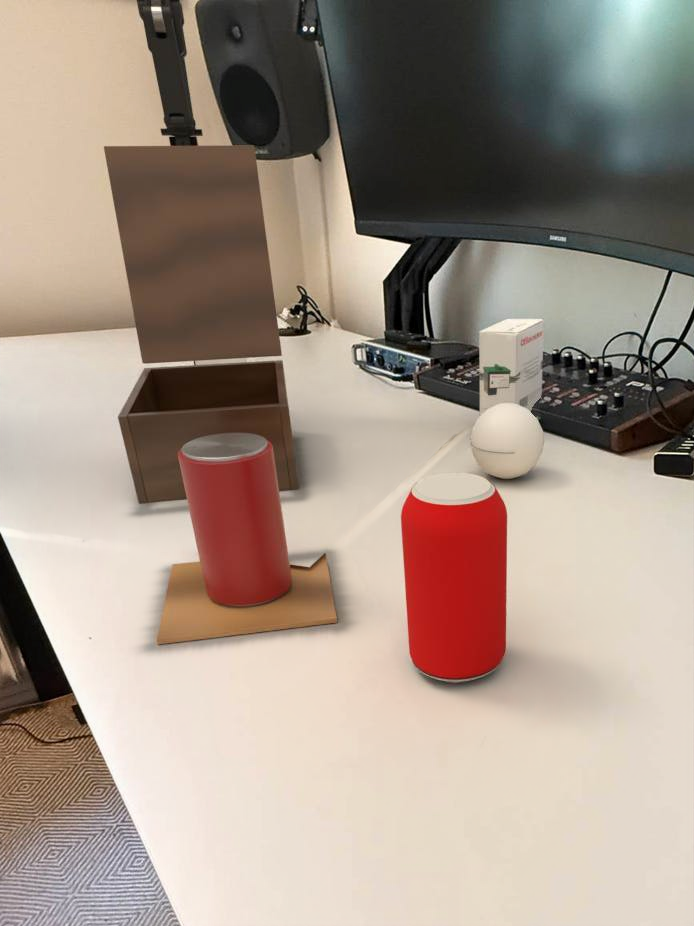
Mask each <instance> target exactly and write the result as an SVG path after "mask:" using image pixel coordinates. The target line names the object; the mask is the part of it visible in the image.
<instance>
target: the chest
mask: <svg viewBox="0 0 694 926" xmlns="http://www.w3.org/2000/svg"><path fill="white" fill-rule="evenodd" d="M284 369H285V368H284V362H283V360H282V359H279V360H278V359H277V360H261V361H246V362H241V363H223V364H206V365H194V364H192V365H189V364H188V365H172V366H156V367H144V368H143V370H142V371H141V373H140V374H139V377H138V379H137V380H136V382H135V384H134V386H133V388H132V390H131V392H130V393H129V395H128V397H127V399H126V401H125V403H124V405H123V407H122V408H121V410H120V412H119V414H118V416H117V420H118V423H119V429H120V432H121V436H122V440H123V445H124V447H125V448H124V449H125V452H126V456H127V461H128V464H129V465H128V466H129V470H130V474H131V477H132V481H133V487H134V489H135V494H136V498H137V502H138V504H139V505H142V504H152V503H163V502H175V501H187V497H186V492H185V487H184V482H183V477H182V473H181V468H180V463H179V458H178V452H179V451H180V449H182V447H183V446H184V445H185V444H186V443H188V442H190V441H192V440H194V439H197V438H200V437H204V436H209V435H214V434H222V433H249V434H255V435H259V436H262V437H264V438H265V439H266V440H268V441H269V442H271V444H272V446H273V453H274V460H275V466H276V473H277V480H278V487H279V492H287V491H298V490H300V485H299V476H298V468H297V460H296V453H295V446H294V437H293V431H292V430H293V429H292V421H291V416H290V415H291V413H290V407H289V400H288V392H287V384H286V378H285V370H284Z"/></svg>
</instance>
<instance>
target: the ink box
mask: <svg viewBox="0 0 694 926" xmlns="http://www.w3.org/2000/svg"><path fill="white" fill-rule="evenodd" d="M544 332H545V320H544V319H542V318H506V319H504V320H502V321H500V322H497V323H494V324H492V325H490V326H488V327H486V328H484V329H482V330H481V329H480V330H479V331H478V337H479V338H478V339H479V341H478V345H479V348H478V349H479V351H478V352H479V361H478V362H479V372H478V373H479V417H480V416H481V415H482V414H483V413H484V412H485V411H486V410H487V409H489V408H491V407H493V406H495V405H498V404H501V403H514V404H518V405H520V406H522V407H524V408H526V409H528V410H529V411H530V412H531V410H532V407H533V406H534V404H535V403H536V402H537V401H538V400H539V399H540V398H541V399H542V397H541V396H543V395H542V393H543V392H542V391H543V361H544V337H545V335H544V334H545V333H544ZM536 418H537V419H538V421H539V420H541V418H542V416H541V417H538V416H537V417H536Z"/></svg>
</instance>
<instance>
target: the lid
mask: <svg viewBox="0 0 694 926" xmlns="http://www.w3.org/2000/svg"><path fill="white" fill-rule="evenodd" d="M103 151H104V157H105V162H106V167H107V173H108V179H109V185H110V189H111V196H112V202H113V206H114V213H115V218H116V223H117V229H118V234H119V241H120V246H121V250H122V256H123V262H124V268H125V273H126V279H127V284H128V291H129V296H130V302H131V306H132V307H131V308H132V313H133V319H134V324H135V329H136V330H135V331H136V335H137V340H138V347H139V352H140V357H141V363H142V364H144V365H147V364H148V365H149V364H164V363H183V362H194V361H202V360H219V359H237V358H246V359H249V358H250V359H251V358H252V359H253V358H271V357H282V356H283V354H282V345H281V337H280V331H279V323H278V315H277V308H276V300H275V294H274V292H275V291H274V285H273V277H272V271H271V262H270V253H269V245H268V239H267V232H266V225H265V217H264V208H263V201H262V194H261V186H260V185H261V184H260V177H259V170H258V164H257V155H256V147H255V144H254V145H253V144H250V145H249V144H247V145H246V144H245V145H241V144H239V145H238V144H237V145H235V144H234V145H233V144H232V145H231V144H229V145H228V144H227V145H225V144H224V145H198V146H170V145H104V146H103Z"/></svg>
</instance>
